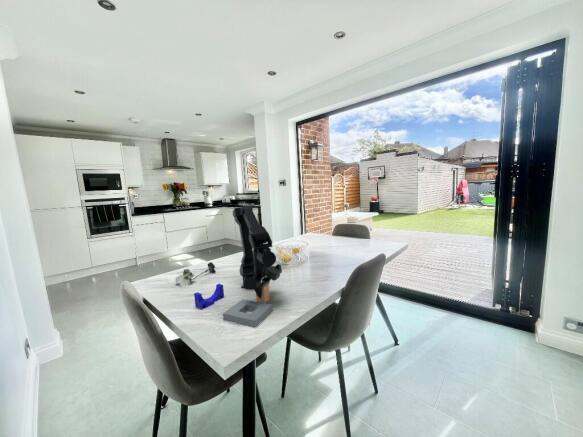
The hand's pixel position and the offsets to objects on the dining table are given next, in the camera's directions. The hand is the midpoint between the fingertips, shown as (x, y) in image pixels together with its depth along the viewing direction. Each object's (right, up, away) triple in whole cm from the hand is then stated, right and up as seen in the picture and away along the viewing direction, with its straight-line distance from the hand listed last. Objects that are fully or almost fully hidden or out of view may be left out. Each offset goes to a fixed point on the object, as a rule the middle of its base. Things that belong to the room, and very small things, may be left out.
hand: (262, 295), depth 101 cm
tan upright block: (0, -2, 0) cm, 2 cm away
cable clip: (-22, -4, +1) cm, 22 cm away
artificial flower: (-39, -1, +29) cm, 49 cm away
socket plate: (-4, -4, -11) cm, 12 cm away
